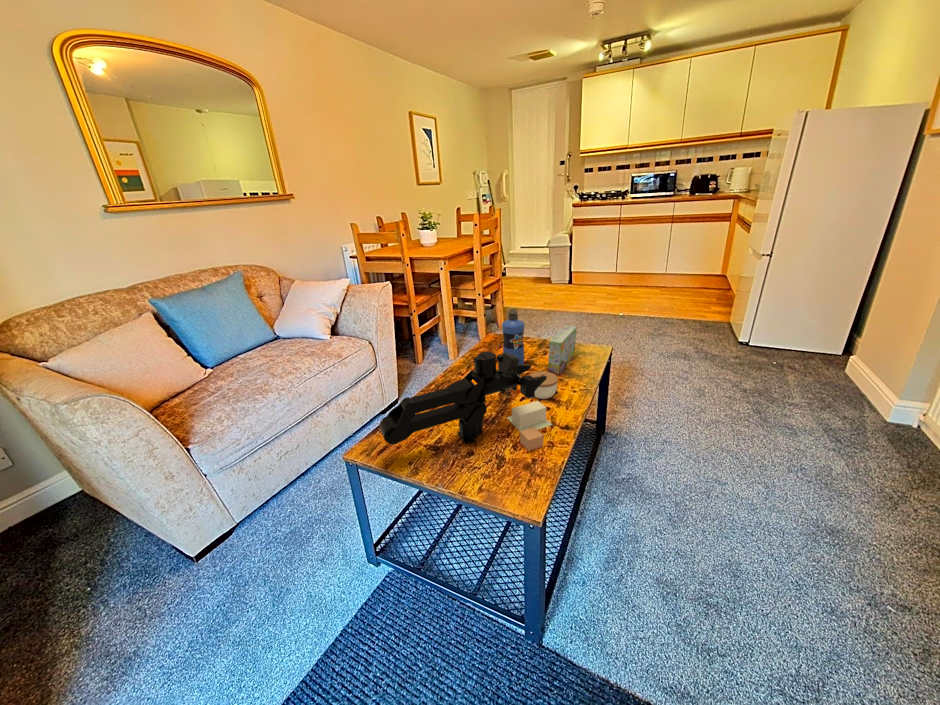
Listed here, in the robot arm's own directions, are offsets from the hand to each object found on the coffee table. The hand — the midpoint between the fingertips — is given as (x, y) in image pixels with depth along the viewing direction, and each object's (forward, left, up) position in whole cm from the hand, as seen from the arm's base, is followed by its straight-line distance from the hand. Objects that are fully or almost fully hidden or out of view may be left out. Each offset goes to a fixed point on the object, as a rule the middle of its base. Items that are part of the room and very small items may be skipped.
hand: (538, 371), depth 129 cm
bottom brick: (-5, -3, -15) cm, 17 cm away
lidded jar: (+9, +10, -17) cm, 21 cm away
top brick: (-11, -14, -17) cm, 25 cm away
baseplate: (-5, -3, -16) cm, 18 cm away
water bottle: (+14, +40, -17) cm, 45 cm away
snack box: (+31, +28, -17) cm, 45 cm away
